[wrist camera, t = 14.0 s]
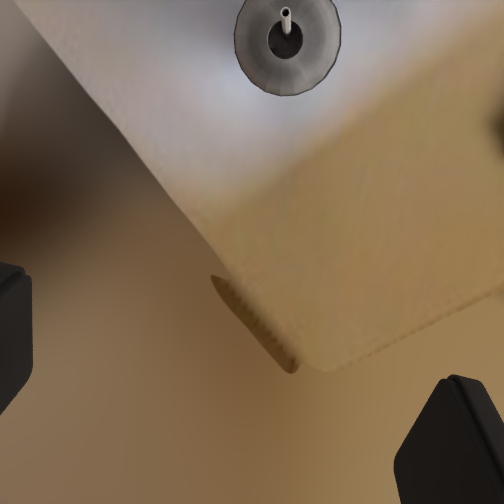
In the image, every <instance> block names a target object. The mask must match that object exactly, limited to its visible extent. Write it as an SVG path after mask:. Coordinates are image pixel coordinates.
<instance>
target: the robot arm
mask: <svg viewBox="0 0 504 504" xmlns="http://www.w3.org/2000/svg"><path fill="white" fill-rule="evenodd" d="M32 348H33V344H32V281H31V277H30V276H28V275H26V274H25V270H24V268H22V267H20V266H16V265H12V264H8V263H4V262H0V415H1V414H2V412H3V411H4V410H5V409H6V407H7V406H8V405H9V404H10V402H11V401H12V400H13V399H14V397H15V396H16V395H17V394H18V392H19V391H20V390H21V388H22V387H23V386H24V385H25V383H26V382H27V381H28V379H29V377H30V374H31V372H32V368H33V349H32ZM394 474H395V479H396V483H397V488H398V492H399V497H400V501H401V504H504V423H503V421H502V419H501V417H500V415H499V413H498V411H497V410H496V408H495V406H494V404H493V402H492V400H491V398H490V396H489V395H488V393H487V391H486V389H485V387H484V386H483V384H482V383H481V382H480V381H478V380H475V379H471V378H467V377H462V376H459V375H450V376H449V377H448V378H447V379H441V380H440V381H439V382H438V384H437V385H436V387H435V389H434V390H433V392H432V394H431V396H430V397H429V399H428V401H427V402H426V404H425V406H424V408H423V409H422V411H421V413H420V414H419V416H418V418H417V419H416V421H415V423H414V425H413V426H412V428H411V430H410V432H409V433H408V435H407V437H406V438H405V440H404V442H403V443H402V445H401V447H400V448H399V450H398V452H397V454H396V456H395V459H394Z"/></svg>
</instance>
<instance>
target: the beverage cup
mask: <svg viewBox="0 0 504 504" xmlns="http://www.w3.org/2000/svg"><path fill="white" fill-rule="evenodd" d="M234 45H235V54H236V56H237V59H238V62H239V64H240V67H241V69H242V71H243V72H244V73H245V75H246V76H247V77H248V79H249V80H250V81H251V82H252V83H253V84H254V85H256V86H257V87H259V88H260V89H262V90H263V91H264V92H267V93H271V94H274V95H278V96H294V95H299V94H301V93H304V92H306V91H309V90H311V89H313V88H314V87H315V86H316V85H318V84H319V83H320V82H321V81H322V80H324V79H325V78H326V76H327V75H328V73H329V72H330V70H331V69H332V67H333V66H334V64H335V62H336V59H337V56H338V53H339V50H340V46H341V23H340V19H339V16H338V12H337V8H336V6H335V5H334V3H333V2H332V0H246V1H245V2H244V4H243V6H242V8H241V10H240V12H239V14H238V16H237V21H236V25H235V30H234Z"/></svg>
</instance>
